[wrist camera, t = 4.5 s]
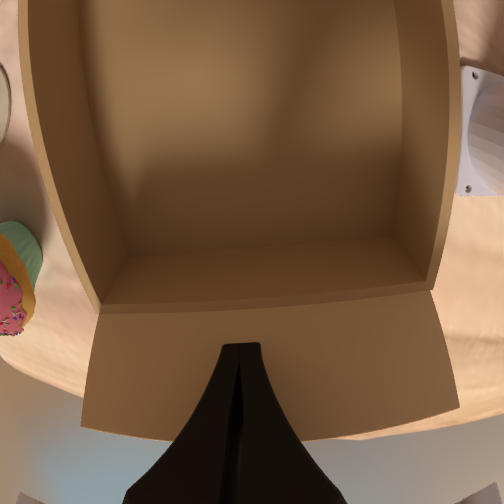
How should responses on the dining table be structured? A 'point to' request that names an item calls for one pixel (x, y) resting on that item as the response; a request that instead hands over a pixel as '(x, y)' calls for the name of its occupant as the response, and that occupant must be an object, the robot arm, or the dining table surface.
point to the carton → (245, 146)
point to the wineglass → (4, 105)
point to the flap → (275, 366)
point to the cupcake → (17, 276)
